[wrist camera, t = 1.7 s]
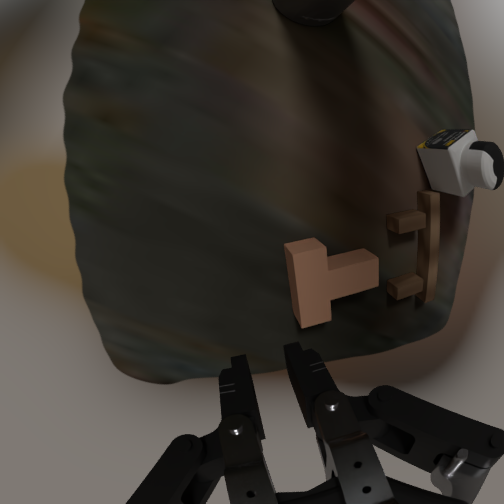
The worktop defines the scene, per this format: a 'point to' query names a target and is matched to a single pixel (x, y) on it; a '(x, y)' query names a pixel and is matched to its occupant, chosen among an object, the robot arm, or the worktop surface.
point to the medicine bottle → (461, 162)
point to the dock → (419, 247)
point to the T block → (325, 278)
